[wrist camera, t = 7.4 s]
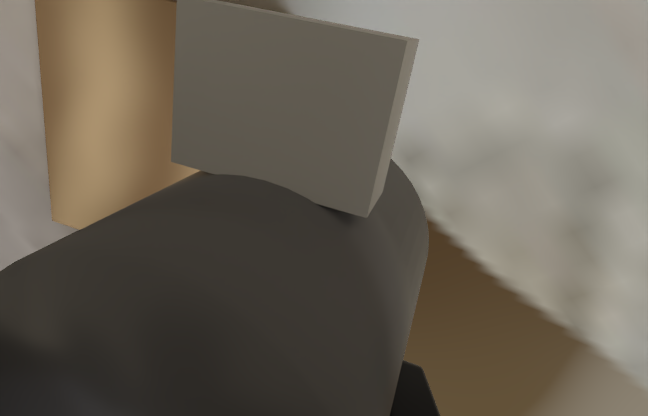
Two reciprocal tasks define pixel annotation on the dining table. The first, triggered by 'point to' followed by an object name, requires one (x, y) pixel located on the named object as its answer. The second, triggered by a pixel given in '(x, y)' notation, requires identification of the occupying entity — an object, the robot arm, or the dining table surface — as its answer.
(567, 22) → the dining table surface
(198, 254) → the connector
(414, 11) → the dining table surface
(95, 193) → the oak board
